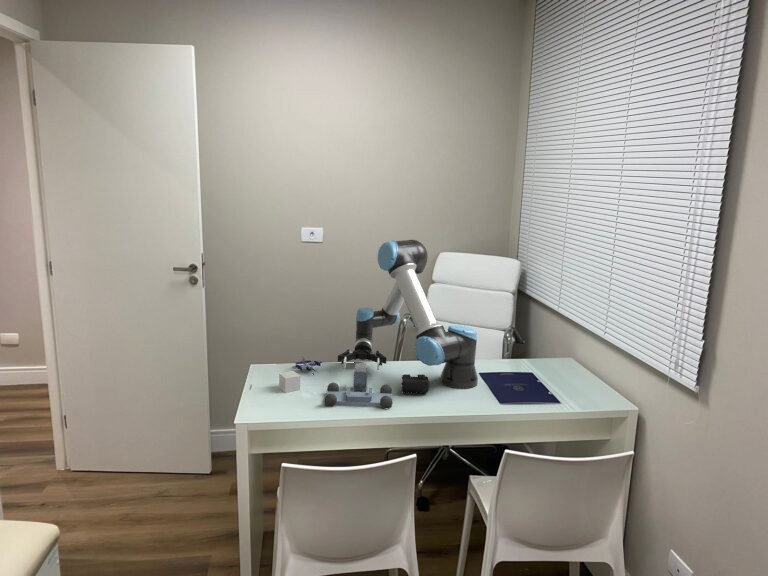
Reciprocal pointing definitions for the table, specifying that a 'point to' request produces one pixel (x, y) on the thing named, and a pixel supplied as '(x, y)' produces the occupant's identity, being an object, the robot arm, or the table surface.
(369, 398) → the chassis
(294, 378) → the light grey cube
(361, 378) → the capped grey pillar
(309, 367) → the toy airplane
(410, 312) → the robot arm
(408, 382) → the black arched housing
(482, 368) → the table surface
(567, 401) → the table surface
